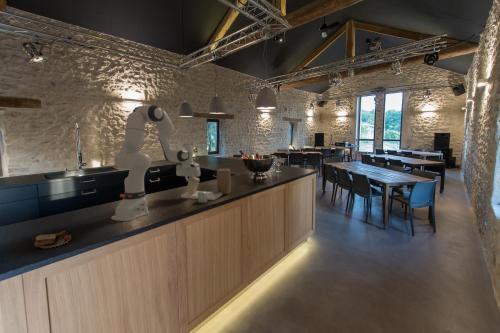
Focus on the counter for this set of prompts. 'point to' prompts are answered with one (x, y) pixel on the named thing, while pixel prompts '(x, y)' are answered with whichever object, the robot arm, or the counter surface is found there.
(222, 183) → the wooden block
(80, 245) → the counter surface
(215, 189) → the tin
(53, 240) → the toy sandwich meal
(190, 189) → the carton
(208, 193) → the white tray
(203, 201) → the sage green capsule
